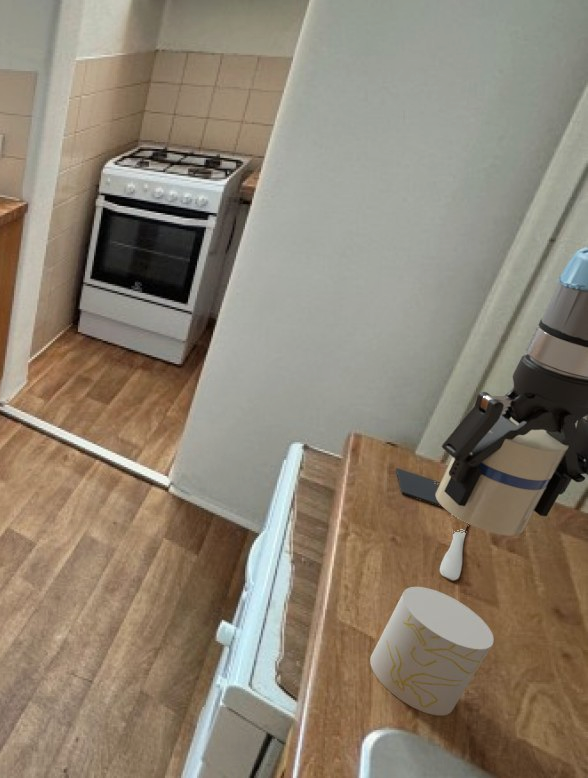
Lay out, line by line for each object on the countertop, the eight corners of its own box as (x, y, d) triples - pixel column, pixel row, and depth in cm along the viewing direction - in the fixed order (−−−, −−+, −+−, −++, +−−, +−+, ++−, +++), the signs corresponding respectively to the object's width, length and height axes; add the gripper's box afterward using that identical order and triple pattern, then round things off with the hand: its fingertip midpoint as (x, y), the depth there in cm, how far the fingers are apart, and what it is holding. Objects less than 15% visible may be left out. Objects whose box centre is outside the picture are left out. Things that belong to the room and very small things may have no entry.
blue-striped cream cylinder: (488, 492, 90) (542, 540, 81) (419, 484, 91) (466, 530, 83) (528, 412, 84) (590, 455, 76) (454, 405, 86) (508, 446, 78)
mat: (467, 493, 109) (468, 490, 109) (477, 519, 103) (478, 517, 103) (395, 469, 114) (396, 467, 114) (401, 493, 109) (402, 491, 108)
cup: (366, 680, 78) (399, 615, 73) (373, 638, 83) (405, 575, 79) (452, 730, 72) (494, 663, 68) (454, 682, 78) (493, 617, 73)
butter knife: (431, 568, 93) (458, 581, 91) (457, 491, 109) (480, 500, 107) (430, 571, 93) (457, 584, 91) (456, 493, 110) (479, 502, 107)
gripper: (637, 359, 77) (559, 494, 86) (445, 342, 81) (388, 474, 89) (704, 392, 71) (613, 536, 79) (492, 372, 74) (425, 512, 82)
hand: (494, 503), depth 84 cm, fingers closed on blue-striped cream cylinder, 9 cm apart
